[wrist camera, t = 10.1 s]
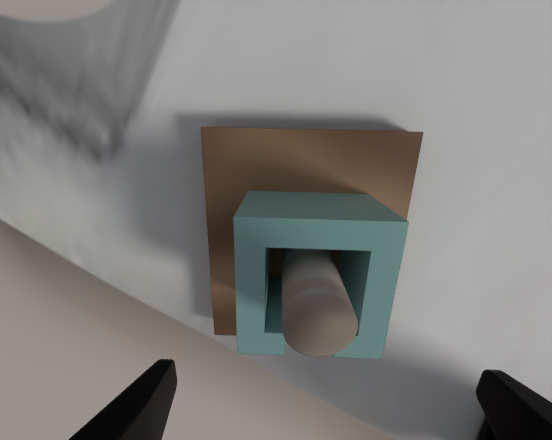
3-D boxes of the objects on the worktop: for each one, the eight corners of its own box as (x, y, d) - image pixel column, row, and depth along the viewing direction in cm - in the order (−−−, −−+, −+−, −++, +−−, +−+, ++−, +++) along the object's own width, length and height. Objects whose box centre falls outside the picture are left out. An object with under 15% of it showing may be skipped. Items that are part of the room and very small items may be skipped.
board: (375, 325, 20) (440, 457, 12) (219, 320, 20) (177, 447, 12) (410, 132, 15) (552, 131, 7) (208, 127, 15) (128, 120, 7)
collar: (354, 296, 17) (381, 358, 13) (249, 293, 17) (237, 353, 13) (368, 194, 15) (409, 222, 10) (248, 190, 15) (233, 216, 10)
